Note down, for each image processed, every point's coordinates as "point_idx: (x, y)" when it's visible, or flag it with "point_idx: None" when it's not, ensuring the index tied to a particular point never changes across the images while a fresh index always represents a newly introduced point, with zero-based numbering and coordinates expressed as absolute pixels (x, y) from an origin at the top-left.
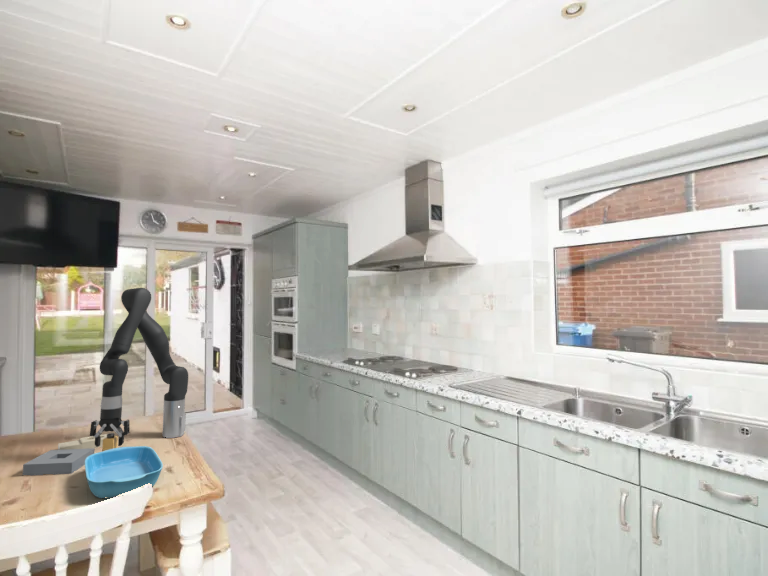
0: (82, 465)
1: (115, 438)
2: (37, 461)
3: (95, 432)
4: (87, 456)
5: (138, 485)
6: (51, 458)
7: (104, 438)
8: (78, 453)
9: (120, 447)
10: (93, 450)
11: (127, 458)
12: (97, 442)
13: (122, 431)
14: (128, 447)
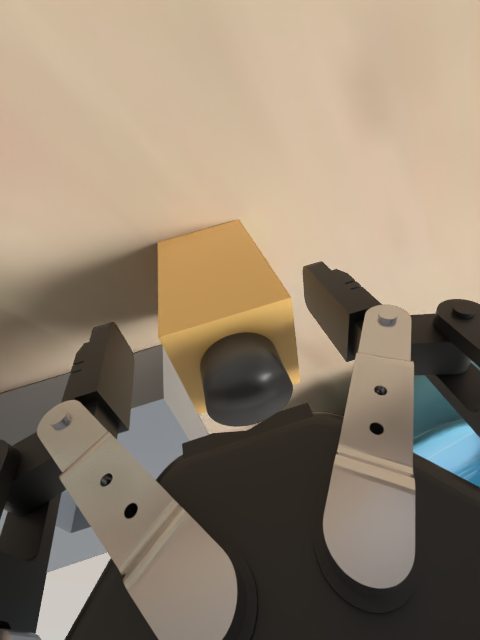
0: (203, 425)
1: (292, 340)
2: (58, 552)
3: (20, 480)
4: (192, 427)
5: (477, 480)
6: (58, 517)
7: (192, 396)
8: (148, 468)
9: (420, 453)
10: (169, 398)
11: (420, 400)
12: (128, 388)
13: (404, 357)
14: (461, 439)
